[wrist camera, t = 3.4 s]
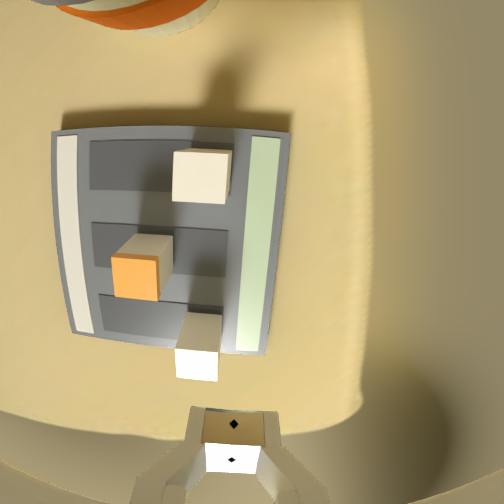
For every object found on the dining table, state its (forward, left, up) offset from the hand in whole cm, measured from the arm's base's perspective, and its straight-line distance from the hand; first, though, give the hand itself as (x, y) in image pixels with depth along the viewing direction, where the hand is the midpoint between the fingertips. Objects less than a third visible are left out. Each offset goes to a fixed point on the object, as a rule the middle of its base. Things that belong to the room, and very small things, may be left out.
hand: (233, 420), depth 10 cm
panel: (0, -7, -17) cm, 18 cm away
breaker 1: (-7, -3, -15) cm, 17 cm away
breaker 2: (+6, -3, -15) cm, 17 cm away
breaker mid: (0, -7, -15) cm, 16 cm away
